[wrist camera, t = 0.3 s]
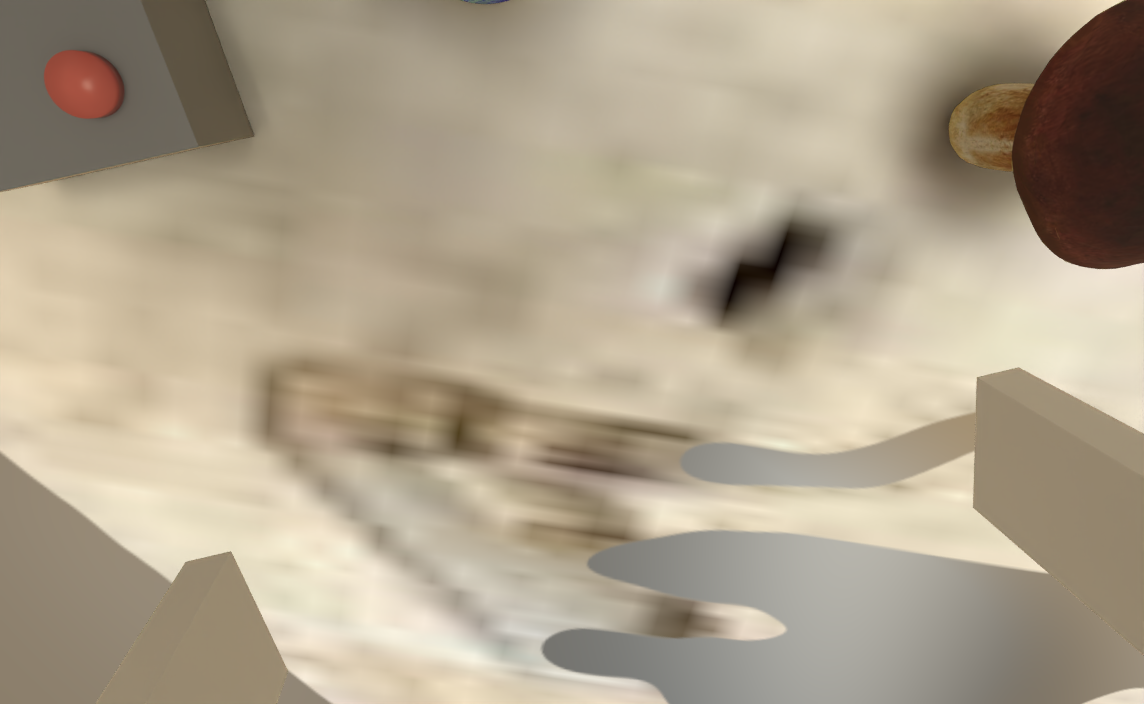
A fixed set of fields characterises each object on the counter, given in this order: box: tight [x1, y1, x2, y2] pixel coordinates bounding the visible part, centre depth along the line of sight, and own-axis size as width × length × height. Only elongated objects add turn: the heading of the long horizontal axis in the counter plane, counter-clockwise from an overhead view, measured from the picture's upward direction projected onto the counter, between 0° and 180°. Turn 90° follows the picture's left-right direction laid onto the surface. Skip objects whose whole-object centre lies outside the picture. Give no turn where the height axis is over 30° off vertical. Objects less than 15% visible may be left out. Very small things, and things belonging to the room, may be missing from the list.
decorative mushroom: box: [949, 0, 1144, 269], centre depth 31 cm, size 11×11×15 cm
